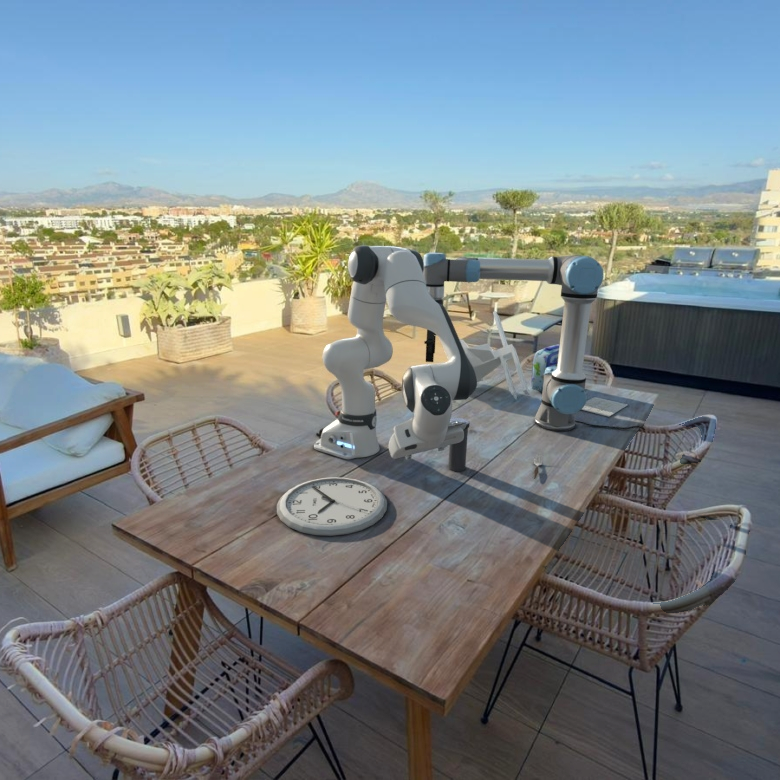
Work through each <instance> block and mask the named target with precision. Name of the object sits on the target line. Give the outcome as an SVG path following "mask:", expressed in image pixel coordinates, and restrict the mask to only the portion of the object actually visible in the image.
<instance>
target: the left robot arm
mask: <svg viewBox="0 0 780 780" xmlns="http://www.w3.org/2000/svg"><path fill="white" fill-rule="evenodd" d="M347 271H348V275H349V277H350V279H351V280H352V281H353V282H352V285H351V290H350V298H349V303H348V308H347V320H348V321H349V323H350V324H351V325H352V326H353V327H355V328H356V335H355V336H354V337H348V338H347V337H346V338H342V339H337V340H335V341H333V342H330V343H329V344H326V346H325V347H324V349H323V351H322V356H321V357H322V363H323V365H324V368H325V369H326V370H327V372H329V373H330V374H332V375H333V376H334V377H335V378H336V380H337V381H338V383H339V386H340V392H341V407H340V408H339V409H338V410H337V411H336V412H335V413H334V414H335V415H334V416H335V417H337V418H336V419H335V420H333V421H332V422H330V423H329V424H328V425H326V426H325V427H322V428H320V429H319V431H318V432H316V434H315V436H317V437H318V439H317V440H316V441H315V443H314V444H313V449H314V450H316V451H318V452H320V453H324V454H328V455H331V456H334V457H338V458H341V459H344V460H352V459H356V458H366V457H371V456H374V455H376V454H377V453H379V452H380V449H381V448H380V445H379V441H378V436H377V427H376V426H377V408H376V388H375V387H374V385H373V384H372V383H371V382H369V381H368V380H366V379H365V376H364V371H365V370H366V371H367V370H370V369H374V368H379V367H381V366H383V365H385V364H387V363H389V362H390V361H391V359H392V357H393V353H394V350H393V349H394V348H393V345H392V342H391V340H390V339H389V337H387V336H386V334H385V331H384V315H385V310H386V304H387V307H388V310H389V312H390V314H391V315H392V317H393V318H394V319H396V320H397V321H399V322H400V323H402V324H404V325H408V326H411V327H417V328H422V329H425V330H426V331H427V330H430V331H432V332H434V333H435V334H436V335H435V336H437V337H438V340H439V341H440V344H441V346H442V349H443V351H444V353H445V356H446V358H447V361H442V362H436V363H426V364H419V365H413V366H409V367H408V368H407V369H406V370H405V372H404V373H403V376H402V380H401V381H402V382H401V393H402V399H403V402H404V405H405V407H406V408H407V409H408V410H409V411H410V412H411V413H413V417H411V418H410V419H408V420H406V421H404V422H402V423H400V424H397V425H395V426H393V434H391V435H390V438H389V441H388V451H389V454H390V457H391V458H392V459H394V460H396V459H400V458H405V460H410V459H412V458H413V455H416V454H420V453H423V452H428V451H431V450H435V449H437V450H438V452H441V451H444V450H445V448H447V447H448V446H450V445H452V444H456V443H459V442H461V441H462V440H463V439H464V431H463V429H465V427H466V422H462V421H452V422H450V420H451V419H452V415H453V414H452V413H453V401H461V400H462V401H464V400H465V401H466V400H468V399H469V398H470V397H471V396H472V395H473V394H474V392H475V391H476V389H477V387H478V382H477V378H476V374H475V371H474V368H473V366H472V365H471V363H470V361H469V359H468V358H467V356H466V354H465V351H464V349H463V347H462V344H461V342H460V340H459V339H460V338H459V335H458V333H457V330H456V328H455V326H454V323H453V321H452V319H451V317H450V315H449V312H448V311H447V309H446V308H445V306H444V304H443V305H441V304H439V303H437V302H436V301H435V300H434V299H433V298H432V297H431V295H430V294H429V292H428V290H427V286H426V282H425V278H424V275H423V271H424V258H423V257H422V255H421V253H420V252H419V251H417V250H415V249H411V248H404V247H398V246H393V245H392V246H391V245H385V246H384V245H371V246H370V245H367V244H366V245H365V244H364V245H357V246H355V247H354V248H353V249H352V250H351V251H350V252H349V255H348V261H347ZM319 437H320V438H319Z"/></svg>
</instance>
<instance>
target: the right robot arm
mask: <svg viewBox="0 0 780 780" xmlns="http://www.w3.org/2000/svg"><path fill="white" fill-rule="evenodd" d="M423 262H424V271H423V275H424V278H425V282H426V286H427V290H428V292H429V294H430V295H431V297H432V298H433V299H434V300H435V301H436V302H437V303H439V304H441V305H443V306H444V299H443V298H444V297H445V282H447V283H449V282H452V283H453V282H457V283H468V284H470V283H477V282H479V281H480V280H495V281H497V280H499V281H500V280H501V281H526V282H527V281H531V282H546V283H547V284H548V285H557V286H561V289H560V298H561V299H562V300H563V303H564V305H563V313H562V322H561V330H560V339H559V345H560V346H559V355H558V364H557V366H553V367H547V368H546V369H545V373H544V382H543V392H542V391H541V393H542V394H541V402H540V405H539V407H538V410H537V411H536V413H535V416H534V424H535V425H536V426H537V427H539V428H542V429H544V430H549V431H556V432H567V431H572V430H574V429H575V428H576V423H577V424H582V425H585V426H589V427H595V428H604V429H605V428H606V429H615V430H623V431H624V430H631V429H632V430H633V429H637V428H639V429H641V430H642V431H646V428H645V427H643V426H641V425H632V426H627V427H621V426H611V425H602V424H593V423H588V422H584V421H581V420H578V419H576V418H575V417H576V416H575V414H576V413H579V412H580V411H582V410H581V409H582V408H583V407H584V406H585V404H586V401H588V397H587V392H586V389H585V388H586V383H587V382H586V381H587V375H586V374H585V373H584V371H583V369H584V361H585V355H586V347H587V339H588V338H587V337H588V330H589V324H590V318H591V317H590V316H591V308H592V303H593V302H594V301H596V300H597V298H598V294H599V293H598V291H599V288H601V285H602V284H603V281H604V269H603V267H602V265H601V264H600V262H599V261H597V260H596V259H595V258H594V257H592V256H587V255H581V254H574V255H573V254H572V255H565V256H551V257H549V258H548V259H545V258H544V259H543V258H542V259H541V258H540V259H539V258H501V257H500V258H497V257H496V258H495V257H494V258H492V257H466V256H460V257H457V258H455V259H451V258H449V259H448V258H447V257H446V253H444V252H427V253H425V254H424V255H423ZM436 336H437V335H436V334H435V333H434V332H432V331H430V330H427V329H426V340H424V342H423V343H424V344H425V362H426V363H434V359H435V357H434V356H435V353H436V338H437V337H436Z"/></svg>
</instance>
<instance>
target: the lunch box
mask: <svg viewBox="0 0 780 780" xmlns="http://www.w3.org/2000/svg"><path fill="white" fill-rule="evenodd" d="M559 346H560V344H554V345H550V346H547V347H544V348H542V349H541V348H540V349H539V350H537V351H536V352H535V353H534V356H533V360H532V367H531V368H532V369H531V382H530V383H531V386H530V387H531V389H532V390H533V391H537V392H541V393H542V392H543V382H544V373H545V369H546V368H547V367H553V366H557V364H558V355H559Z"/></svg>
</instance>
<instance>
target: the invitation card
mask: <svg viewBox="0 0 780 780" xmlns="http://www.w3.org/2000/svg"><path fill="white" fill-rule="evenodd" d="M628 406H629V404H627V403H623V402H618V401H614V400H609V399H605V398H601V397H596V396H593V397H592V398H590V399H587V401H586V404H585V406H584V407H583V408H582V409H581V410H580V411H584V412H587V413H593V414H596V415H600V416H604V417H608V418H609V417H611V416H613V415H614V414H616V413H617V412H619V411H621V410H623V409H624V408H626V407H628Z"/></svg>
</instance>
